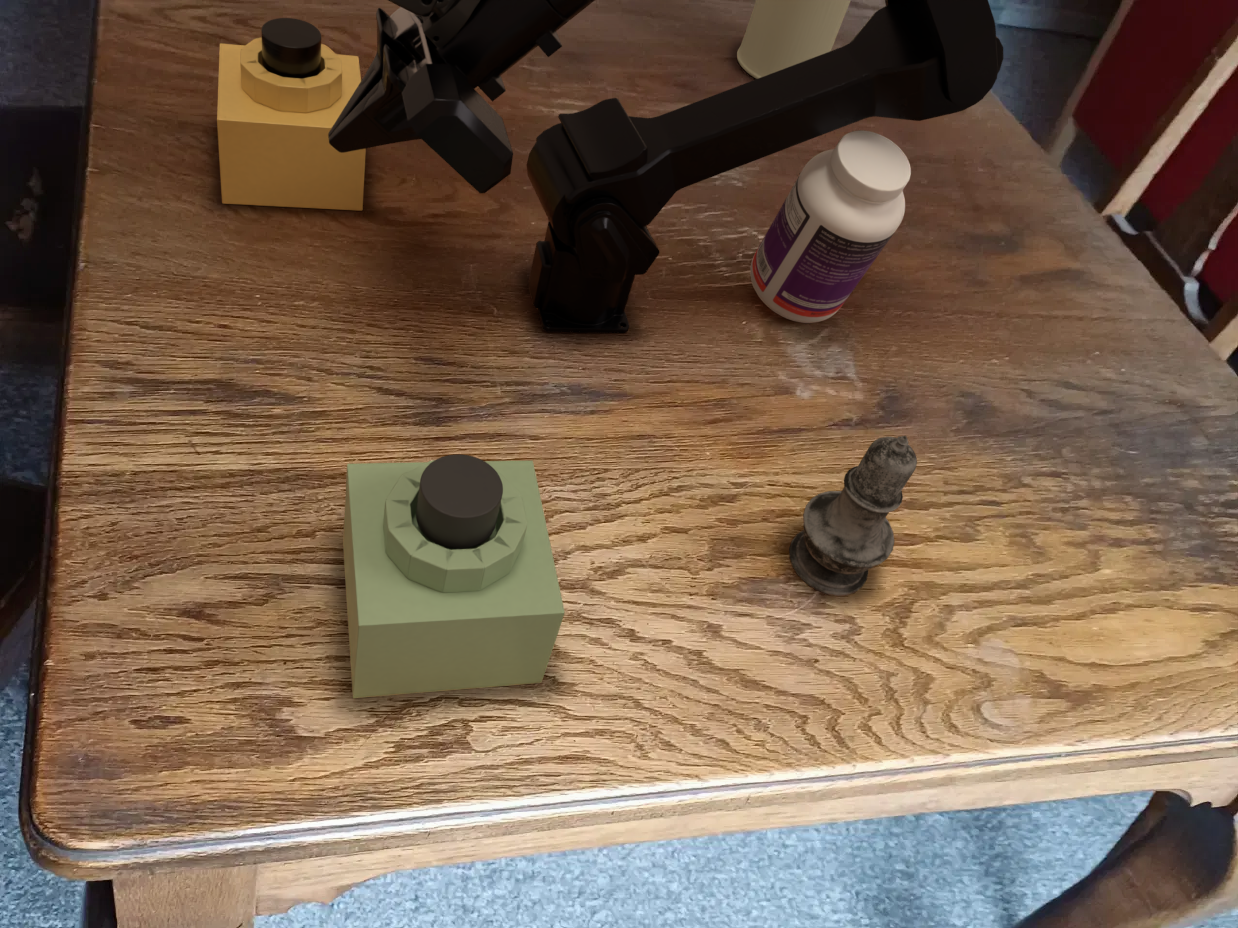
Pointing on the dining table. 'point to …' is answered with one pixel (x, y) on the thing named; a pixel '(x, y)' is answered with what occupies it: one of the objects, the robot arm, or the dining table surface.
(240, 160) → the yellow push button box
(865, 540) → the chess piece
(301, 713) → the dining table surface
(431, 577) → the green push button box
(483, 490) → the front button
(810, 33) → the can
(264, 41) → the back button
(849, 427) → the dining table surface
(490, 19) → the robot arm
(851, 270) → the pill bottle
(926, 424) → the dining table surface
